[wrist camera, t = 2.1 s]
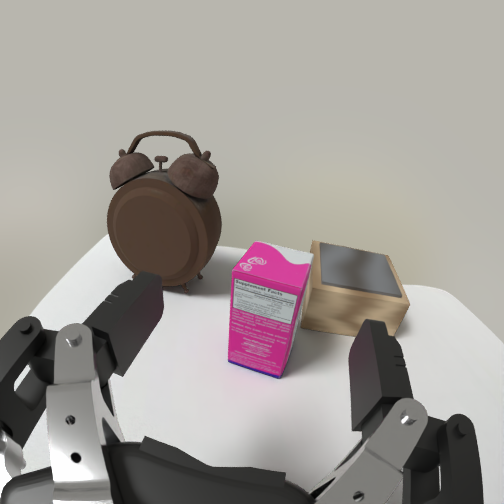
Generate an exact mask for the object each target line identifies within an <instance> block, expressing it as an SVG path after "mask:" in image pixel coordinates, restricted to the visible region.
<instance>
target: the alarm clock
mask: <svg viewBox="0 0 504 504" xmlns="http://www.w3.org/2000/svg"><path fill="white" fill-rule="evenodd" d="M154 135H156V136H157V135H158V136H172V137H177V138H180V139H182V140H185V141H186V142H187V143H188V144H189V146H190V148H191V149H192V151H193V153H194V154H184V155H182V156H180V157H179V158H177V160H175V161H174V163H172V165H171V166H170V167H169V169H162V162H167V161H168V158H167V157H166V156H156V157H155V161H156V162H159V170H156V171H151V172H148V171H150V170H151V169H153V168H154V165H153V164H152V162H151V161H150V160H149V159H148V157H147V156H146V155H144V154H142V153H133V152H134V150H135V149H136V147H137V145H138V144H139V142H140V141H141V139H143V138H145V137H148V136H154ZM210 155H211V153H210V152H209V151H205V152H204V153H203V154H201V152H200V150H199V148H198V146H197V144H196V142H195V140H194V139H193V138H192V137H191V136H189V135H186V134H183V133H180V132H175V131H151V132H146V133H143V134H140V135H138V136H136V138H135V139H134V140H133V142H132V144H131V146H130V148H129V150H128V152H127V154H126V153H125V151H124V150H123V149H121V150H120V151H119V156H120V158H119V159H118V160H117V161H116V162H115V163H114V165H113V166H112V167H111V170H110V182H111V186H112V188H113V190H115V189H117V188H119V187H121V186H122V187H121V188H120V189H119V190H118V191H117V192H116V194H115V195H114V197H113V198H112V200H111V203H110V206H109V209H108V215H107V227H108V233H109V237H110V240H111V243H112V246H113V248H114V250H115V252H116V253H117V255H118V257H119V258H120V259H121V261H122V262H123V263H124V264H125V265H126V266H127V268H129V269H130V270H131V271H132V272H133V273H134V275H133V276H132V278H133V279H134V278H135V277H136V276H137V275H138V274H139V273H140V272H141V271H146V272H150V273H154V274H158V275H160V276H161V278H162V286H177V285H181V286H182V287H183V288H184V292H185V293H188V292H189V290H188V289H187V287H186V284H185V283H186V282H188V281H190V280H192V279H193V278H194V277H195V276H196V275H197V276H198V279H200V280H201V279H202V278H203V276H202V275H201V274H200V271H201V270H202V269H203V268H204V267H205V265H206V264H207V263H208V261H209V260H210V258H211V257H212V255H213V253H214V251H215V248H216V246H217V244H218V241H219V238H220V234H221V226H222V222H221V215H220V210H219V207H218V205H217V202H216V200H215V198H214V196H213V194H214V192H215V190H216V187H217V184H218V179H219V175H218V172H217V169H216V166H215V165H213V163H212V162H210V161H209V158H210ZM147 172H148V173H147ZM123 185H124V186H123Z"/></svg>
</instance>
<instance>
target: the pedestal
mask: <svg viewBox="0 0 504 504" xmlns="http://www.w3.org/2000/svg"><path fill="white" fill-rule="evenodd" d="M310 253H312V254H314V258H313V263H312V267H311V272H310V276H309V281H308V285H307V289H306V293H305V297H304V302H303V306H302V319H301V328H304V329H310V330H316V331H322V332H328V333H335V334H341V335H348V336H355V337H356V336H357V334H358V332H359V330H360V328H361V326H362V324H363V322H364V320H365V319H372V320H378V321H384V322H385V324H386V327H387V331H388V335H390V336H394V334H395V332H396V331H397V329H398V327H399V325H400V323H401V321H402V319H403V317H404V316H405V314H406V312H407V310H408V308H409V306H410V303H409V300H408V298H407V296H406V293H405V291H404V289H403V286H402V284H401V282H400V280H399V277H398V275H397V273H396V271H395V269H394V266H393V264H392V262H391V260H390V258H389V256H388V255H384V254H378V253H373V252H369V251H364V250H359V249H354V248H349V247H344V246H339V245H334V244H329V243H324V242H319V241H312V245H311V250H310Z"/></svg>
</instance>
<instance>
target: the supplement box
mask: <svg viewBox="0 0 504 504" xmlns="http://www.w3.org/2000/svg"><path fill="white" fill-rule="evenodd" d="M313 258H314V254H312V253H308V252H303V251H299V250H294V249H289V248H285V247H281V246H276V245H273V244H269V243H265V242H261V241H255V242H254V243H253V245H252V246H251V247H250V248H249V250H248V251H247V252H246V253H245V255H244V256H243V257H242V258H241V260H240V261H239V262H238V263H237V264H236V266H235V267H234V268H233V269H232V283H231V303H230V323H229V345H228V362H230V363H233V364H236V365H239V366H242V367H245V368H248V369H251V370H254V371H257V372H260V373H263V374H266V375H269V376H272V377H275V378H278V379H280V378H281V376H282V374H283V371H284V369H285V366H286V363H287V361H288V358H289V355H290V352H291V349H292V346H293V342H294V337H295V334H296V330H297V326H298V322H299V318H300V314H301V310H302V306H303V302H304V297H305V293H306V289H307V285H308V281H309V276H310V272H311V267H312V263H313Z"/></svg>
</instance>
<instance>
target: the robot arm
mask: <svg viewBox="0 0 504 504" xmlns="http://www.w3.org/2000/svg"><path fill="white" fill-rule="evenodd" d="M163 310H164V301H163V289H162V278H161V276H160V275H158V274H154V273H150V272H146V271H141V272H140V273H139V274H138V275H137V276H136V277H135V278H134V279H133V281H132V280H128V281H126V282H124V283H122V284H120V285H118V286H117V287H116V288H115V289H114V290H113V291H112V292H111V295H108V297H107V298H106V299H105V301H103V302H102V303H101V304H100V305H99V306H98V307H97V308H96V309H95V310H94V311H93V313H92V314H91V315H90V316H89V317H88V318H87V319H86V320H85V321H84V322H83V323H82V324H79V323H74V324H70V325H67V326H65V327H63V328H62V329H61V330H60V331H53V330H47V329H43V327H42V325H41V322H40V321H39V319H37V318H36V317H32V316H28V317H24V318H22V319H20V320H18V321H17V322H16V323H15V324H14V325H13V326H12V327H11V328H10V329H9V331H8V332H7V333H6V334H5V335H4V336H3V337H2V338H1V340H0V504H385V503H386V501H387V500H388V499H389V497H390V496H391V495H392V493H393V492H394V490H395V489H396V487H397V486H398V484H399V483H400V481H401V480H402V478H403V500H402V504H484V500H483V484H482V473H481V465H480V457H479V451H478V445H477V439H476V434H475V429H474V425H473V423H472V422H471V420H470V419H469V418H468V417H466V416H465V415H463V414H455V415H453V416H451V417H450V418H449V419H448V420H447V421H443V420H440V419H437V418H433V417H430V416H428V415H427V411H426V409H425V408H424V406H423V405H422V404H421V403H420V402H418V401H417V400H414V398H413V394H412V389H411V385H410V380H409V376H408V372H407V368H406V367H405V366H406V364H405V360H404V359H403V357H404V356H403V353H402V349H401V346H400V344H399V343H398V341H397V340H396V339H395V337H394V336H390V335H388V331H387V327H386V324H385V322H384V321H378V320H372V319H365V320H364V322H363V324H362V326H361V328H360V330H359V332H358V334H357V336H356V338H355V340H354V342H353V344H352V346H351V349H350V352H349V375H350V392H351V418H352V431H362V438H361V439H360V440H359V441H358V443H357V444H356V445H355V446H354V447H353V449H352V450H351V451H350V452H349V453H348V454H347V455H346V457H345V458H344V459H343V460H342V461H341V462H340V463H339V464H338V465H337V466H336V467H335V469H334V470H333V471H332V472H331V473H330V474H329V475H328V476H326V477H325V478H324V479H323V480H322V481H321V482H320V483H318V484H317V485H316V486H315V487H314V488H313V489H312V490H311V491H310V492H306V491H305V490H304V489H302V488H301V487H299V486H298V485H296V484H294V483H292V482H290V481H287V480H285V476H286V473H285V472H277V471H270V470H264V469H258V468H253V467H212V466H209V465H206V464H205V463H203V462H201V461H199V460H197V459H195V458H194V457H192V456H190V455H188V454H187V453H185V452H183V451H182V450H180V449H178V448H176V447H173V446H170V445H167V444H165V443H162V442H159V441H157V440H154V439H152V438H149V437H147V436H145V437H144V439H143V441H142V443H141V442H125V439H124V436H123V433H122V431H121V428H120V426H119V423H118V419H117V414H116V410H115V405H114V399H113V394H112V388H111V382H110V379H109V378H110V377H111V375H112V374H113V373H115V374H118V375H120V376H122V377H123V376H124V374H125V373H126V371H127V370H128V368H129V367H130V365H131V363H132V362H133V360H134V359H135V357H136V356H137V354H138V353H139V351H140V349H141V348H142V346H143V345H144V343H145V342H146V340H147V339H148V337H149V336H150V334H151V333H152V331H153V330H154V328H155V327H156V325H157V324H158V322H159V321H160V319H161V317H162V314H163ZM27 364H28V365H29V367H30V368H31V370H30V371H29V372H28V374H27V375H26V376H25V378H24V379H23V381H22V382H21V384H20V385H19V386H18V388H17V389H16V391H14V383H15V381H16V379H17V378H18V376H19V375H20V374H21V372H22V371H23V370H24V368H25V367H26V366H27ZM45 409H47V429H48V441H49V450H50V458H51V465H52V466H50V467H47V468H43V469H40V470H37V471H33V472H30V473H26V474H22V475H21V469H24V468H25V467H26V461H25V459H24V458H23V451H22V449H23V447H24V445H25V443H26V442H27V440H28V438H29V436H30V434H31V433H32V431H33V429H34V427H35V426H36V424H37V422H38V421H39V419H40V417H41V415H42V414H43V412H44V410H45ZM439 466H440V471H441V490H440V485H439ZM402 468H403V472H402V471H401V469H402Z"/></svg>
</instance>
